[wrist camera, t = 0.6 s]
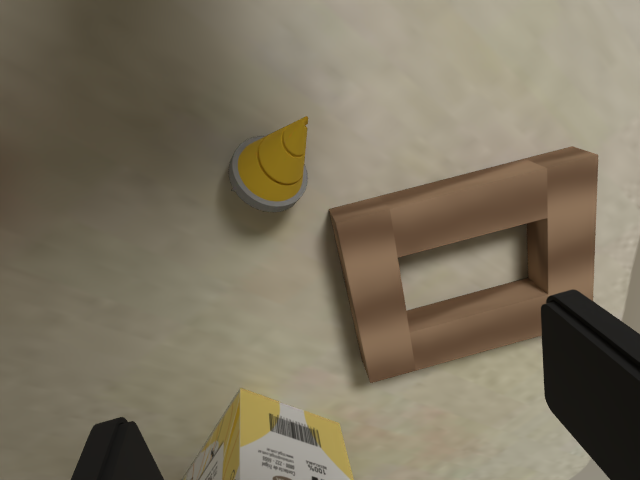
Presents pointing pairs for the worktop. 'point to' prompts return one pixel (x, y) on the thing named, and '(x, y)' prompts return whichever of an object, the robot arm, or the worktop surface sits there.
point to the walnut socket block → (456, 225)
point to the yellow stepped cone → (271, 168)
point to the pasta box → (271, 444)
